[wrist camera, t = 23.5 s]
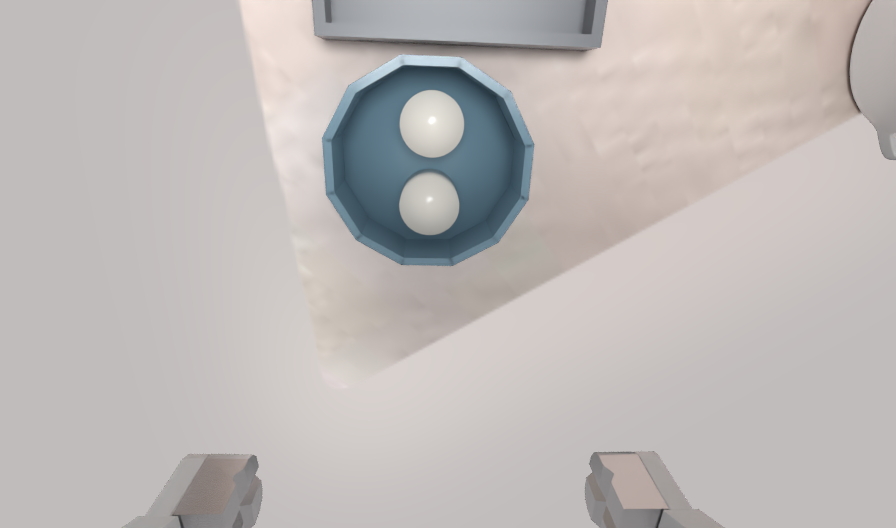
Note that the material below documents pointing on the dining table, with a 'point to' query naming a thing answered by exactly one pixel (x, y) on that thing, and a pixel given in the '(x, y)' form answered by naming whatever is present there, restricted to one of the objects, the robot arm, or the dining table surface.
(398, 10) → the tray
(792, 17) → the dining table surface
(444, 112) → the stone
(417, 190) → the stone
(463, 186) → the bowl
